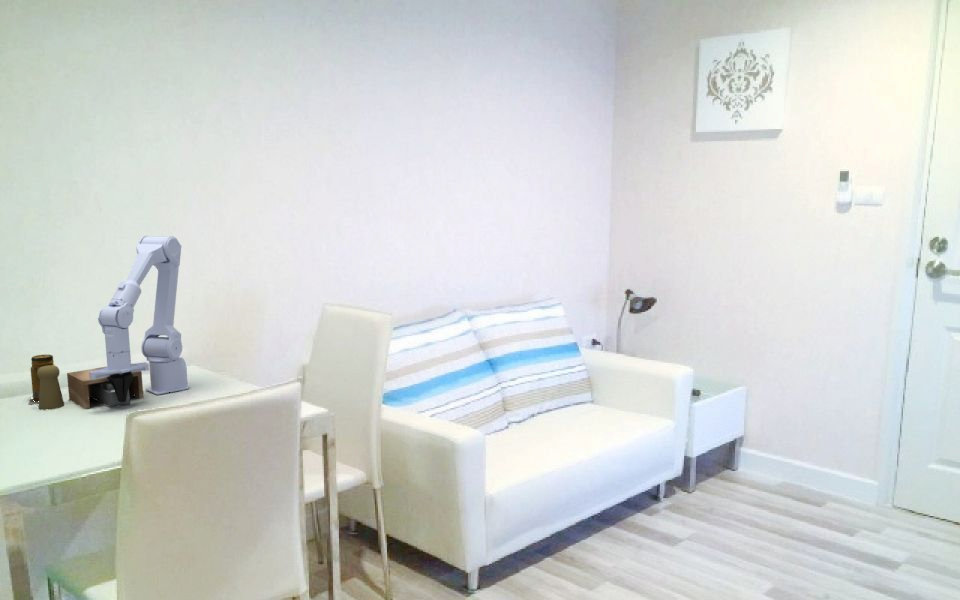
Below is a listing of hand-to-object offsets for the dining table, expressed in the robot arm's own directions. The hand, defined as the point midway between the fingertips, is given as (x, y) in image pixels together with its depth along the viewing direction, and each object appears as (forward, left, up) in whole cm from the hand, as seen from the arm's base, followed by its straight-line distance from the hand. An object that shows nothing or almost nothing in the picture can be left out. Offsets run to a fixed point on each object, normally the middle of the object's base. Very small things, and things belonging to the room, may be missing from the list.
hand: (122, 401), depth 206 cm
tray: (0, -9, -2) cm, 9 cm away
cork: (+13, -15, -2) cm, 20 cm away
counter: (0, -12, -2) cm, 12 cm away
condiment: (+12, -24, -2) cm, 26 cm away
